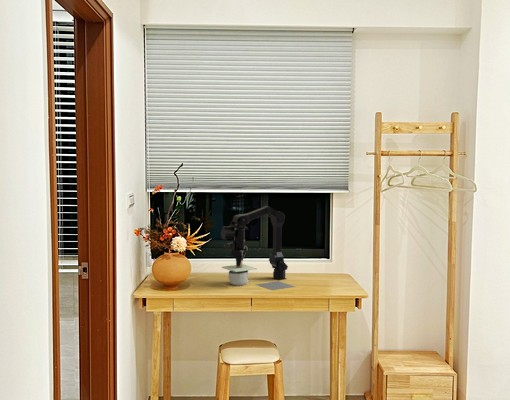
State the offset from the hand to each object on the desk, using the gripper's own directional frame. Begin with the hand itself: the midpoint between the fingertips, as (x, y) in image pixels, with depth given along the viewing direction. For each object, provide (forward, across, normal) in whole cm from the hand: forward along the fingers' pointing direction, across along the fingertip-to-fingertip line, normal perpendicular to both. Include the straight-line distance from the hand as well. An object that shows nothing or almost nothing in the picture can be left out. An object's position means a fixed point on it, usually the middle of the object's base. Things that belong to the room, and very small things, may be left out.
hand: (239, 265), depth 321 cm
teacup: (+11, 0, 0) cm, 11 cm away
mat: (+10, +1, +20) cm, 23 cm away
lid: (+2, 0, 0) cm, 2 cm away
